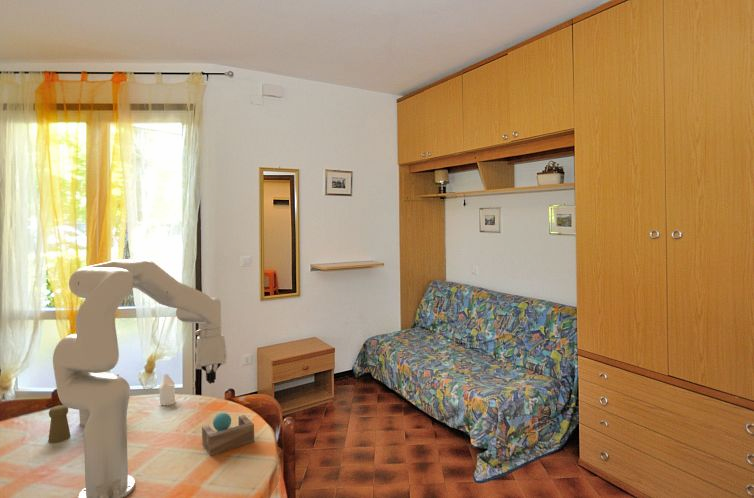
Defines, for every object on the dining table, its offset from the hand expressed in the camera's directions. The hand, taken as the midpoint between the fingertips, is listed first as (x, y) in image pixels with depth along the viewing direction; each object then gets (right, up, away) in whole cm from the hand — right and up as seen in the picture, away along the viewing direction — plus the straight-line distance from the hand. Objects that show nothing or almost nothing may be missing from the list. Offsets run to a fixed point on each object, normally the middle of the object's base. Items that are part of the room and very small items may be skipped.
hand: (211, 382), depth 150 cm
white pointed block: (-25, -15, +19) cm, 35 cm away
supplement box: (-42, -15, +2) cm, 45 cm away
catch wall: (+11, -16, -14) cm, 24 cm away
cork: (-47, -16, -11) cm, 51 cm away
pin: (+10, -14, -7) cm, 19 cm away
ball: (+6, -12, -5) cm, 15 cm away
